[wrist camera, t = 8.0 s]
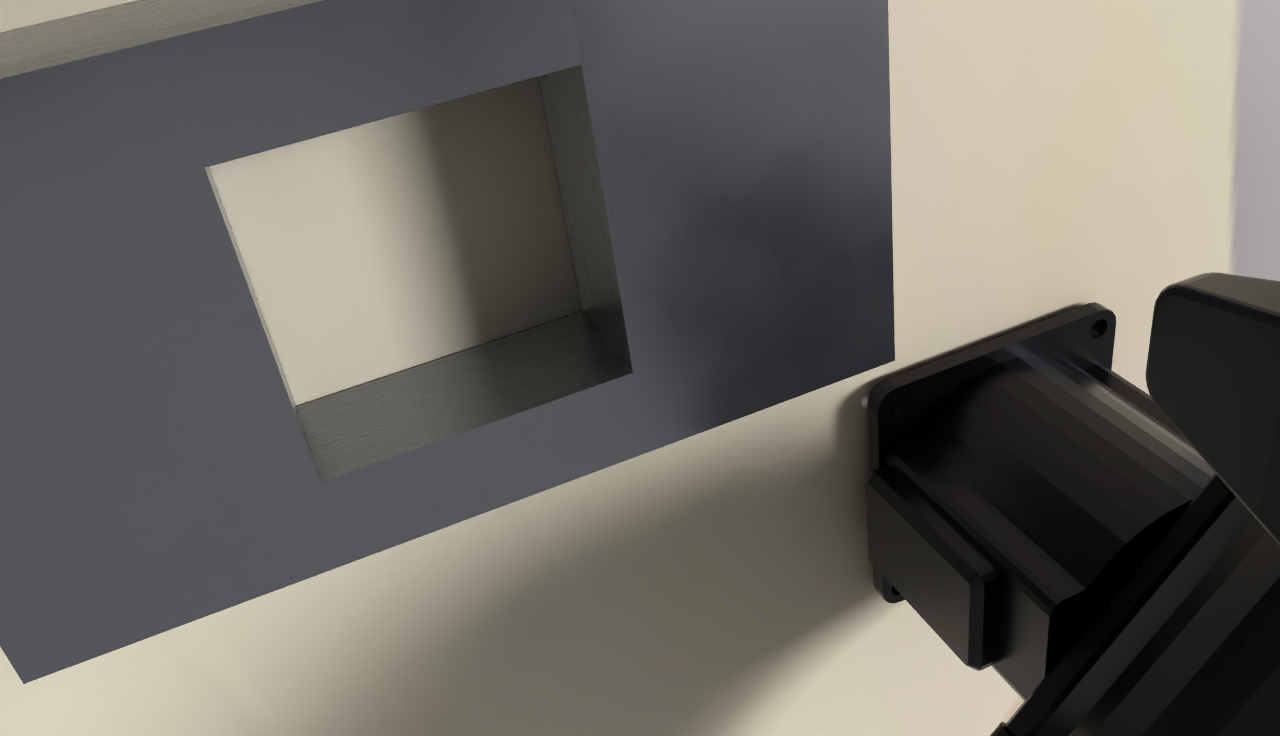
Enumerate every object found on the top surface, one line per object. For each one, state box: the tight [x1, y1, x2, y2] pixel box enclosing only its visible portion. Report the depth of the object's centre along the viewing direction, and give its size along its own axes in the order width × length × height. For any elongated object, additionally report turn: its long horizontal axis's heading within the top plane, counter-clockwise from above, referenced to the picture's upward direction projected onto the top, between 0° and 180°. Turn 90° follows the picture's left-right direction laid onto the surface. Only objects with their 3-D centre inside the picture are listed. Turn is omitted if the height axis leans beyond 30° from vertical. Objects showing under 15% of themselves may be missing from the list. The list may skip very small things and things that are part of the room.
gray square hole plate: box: [0, 0, 895, 684], centre depth 19 cm, size 16×9×2 cm, turn 98°
